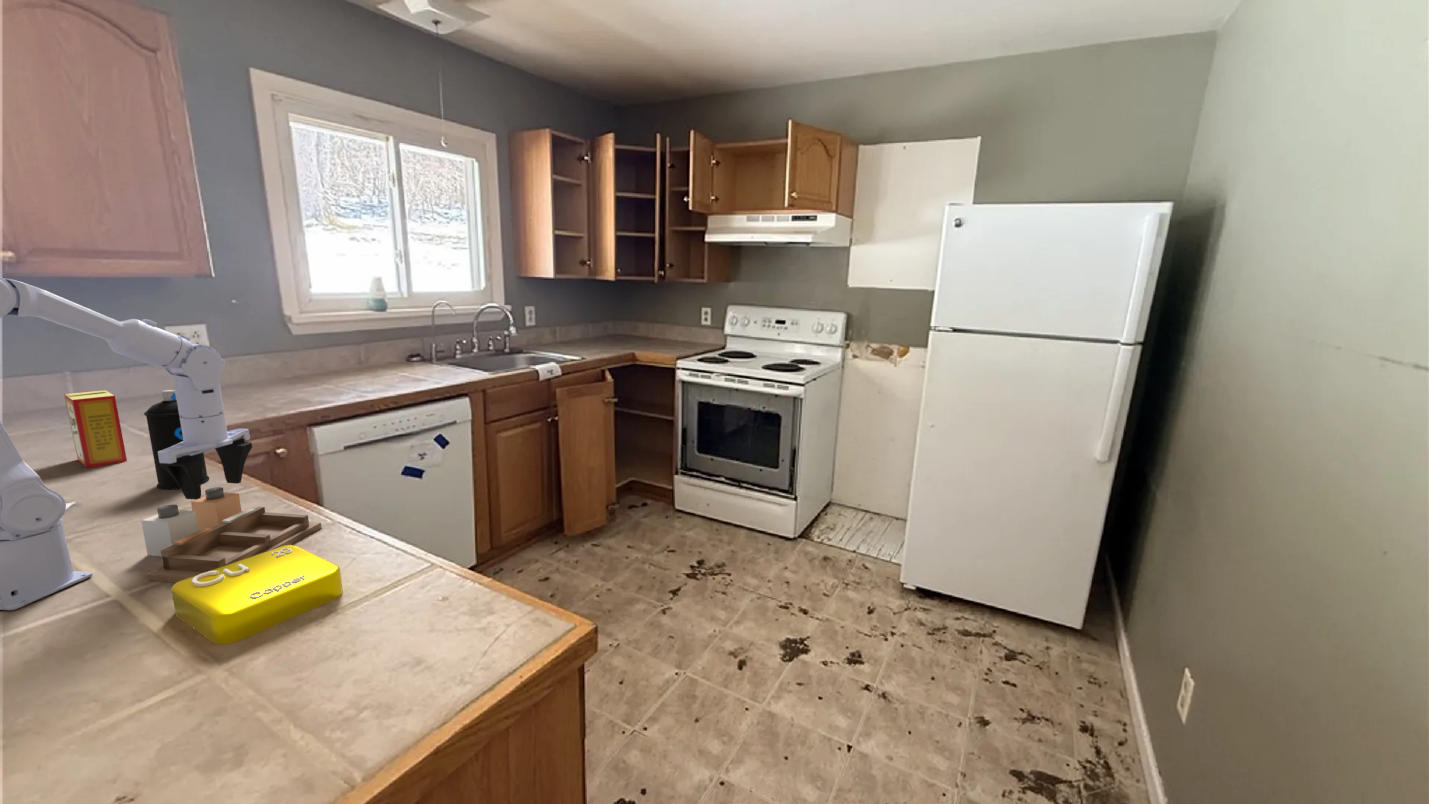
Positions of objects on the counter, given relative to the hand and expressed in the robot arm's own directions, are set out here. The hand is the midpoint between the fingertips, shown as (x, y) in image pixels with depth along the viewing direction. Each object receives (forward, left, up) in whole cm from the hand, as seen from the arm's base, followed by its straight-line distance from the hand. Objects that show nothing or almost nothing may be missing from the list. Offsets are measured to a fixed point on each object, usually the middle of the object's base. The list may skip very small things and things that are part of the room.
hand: (214, 490), depth 99 cm
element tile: (-20, -26, -8) cm, 34 cm away
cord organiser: (-7, -11, -7) cm, 15 cm away
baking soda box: (+29, +58, -7) cm, 65 cm away
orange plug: (0, 0, -7) cm, 7 cm away
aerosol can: (+19, +27, -7) cm, 34 cm away
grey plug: (-8, 0, -7) cm, 11 cm away
